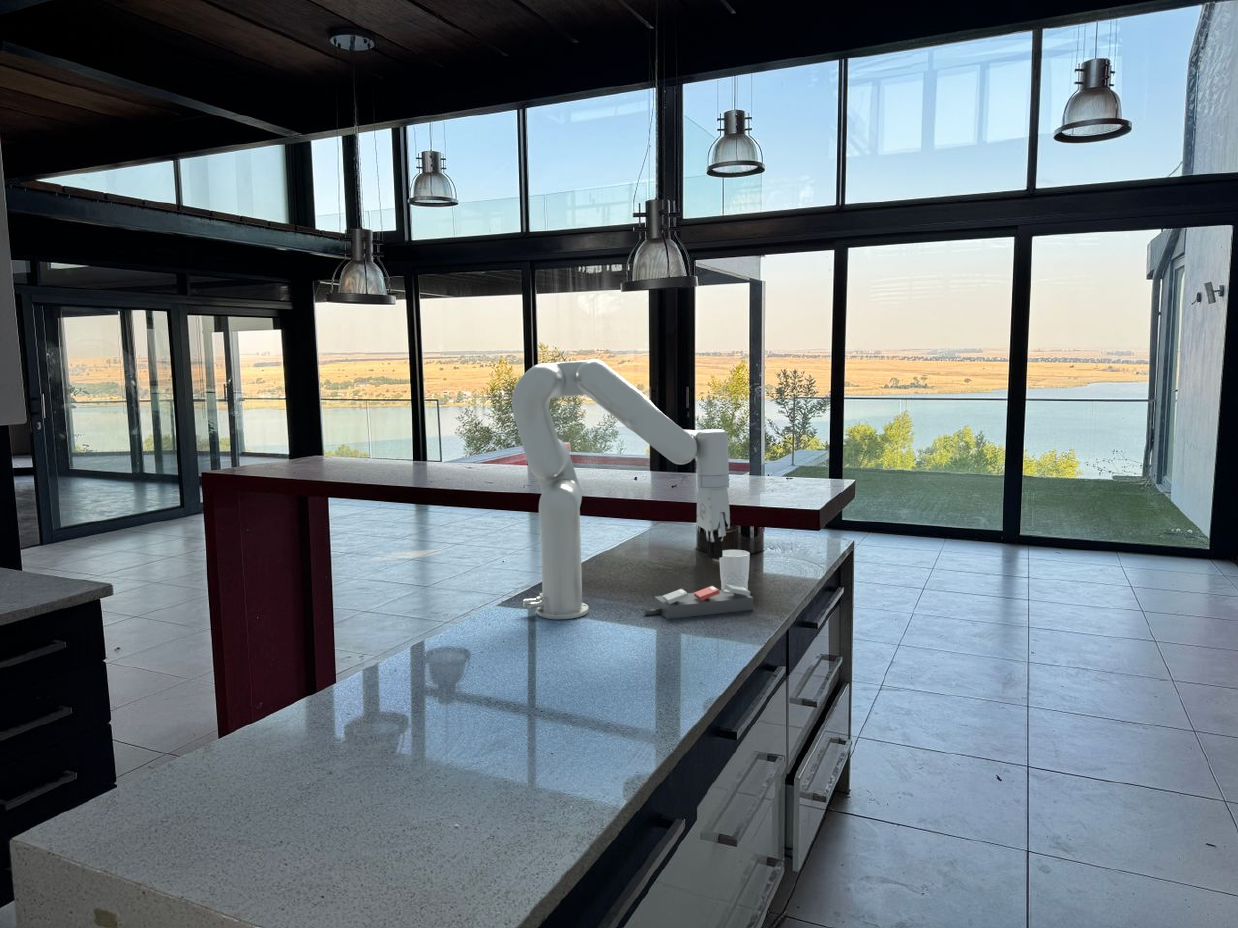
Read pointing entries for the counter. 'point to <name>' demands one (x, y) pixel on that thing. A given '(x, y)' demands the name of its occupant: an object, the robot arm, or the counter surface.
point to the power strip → (702, 605)
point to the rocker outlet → (737, 590)
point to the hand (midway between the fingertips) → (715, 557)
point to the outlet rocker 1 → (675, 596)
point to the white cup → (734, 568)
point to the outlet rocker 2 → (706, 593)
